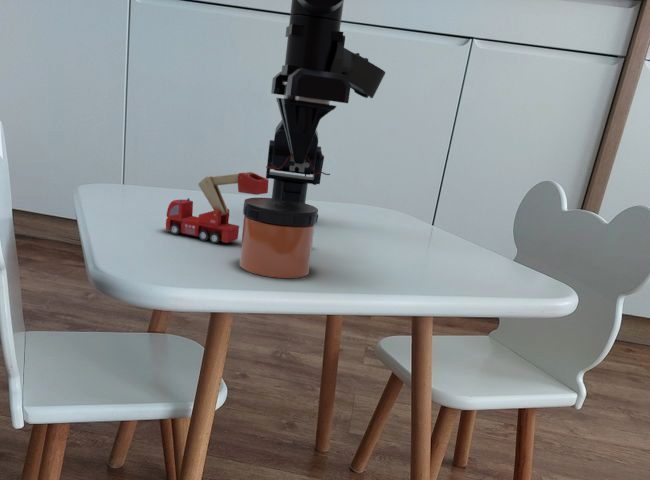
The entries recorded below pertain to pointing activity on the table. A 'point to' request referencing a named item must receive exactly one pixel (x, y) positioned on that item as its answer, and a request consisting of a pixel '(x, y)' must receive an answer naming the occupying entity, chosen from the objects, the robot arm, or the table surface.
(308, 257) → the jar
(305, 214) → the jar lid
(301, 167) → the pendant
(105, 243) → the table surface
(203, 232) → the toy fire truck
